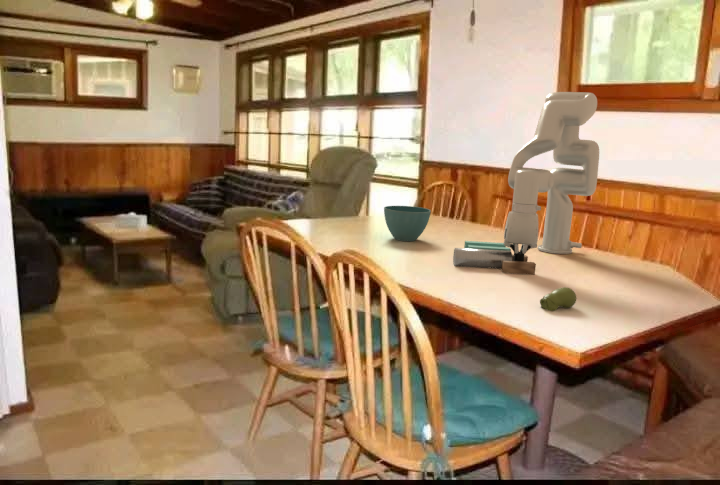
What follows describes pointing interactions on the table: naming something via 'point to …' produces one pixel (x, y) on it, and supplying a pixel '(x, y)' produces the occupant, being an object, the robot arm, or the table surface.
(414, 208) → the teal bowl
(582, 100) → the robot arm
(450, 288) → the table surface
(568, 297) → the pear
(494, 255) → the steel axle
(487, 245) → the teal V-block
